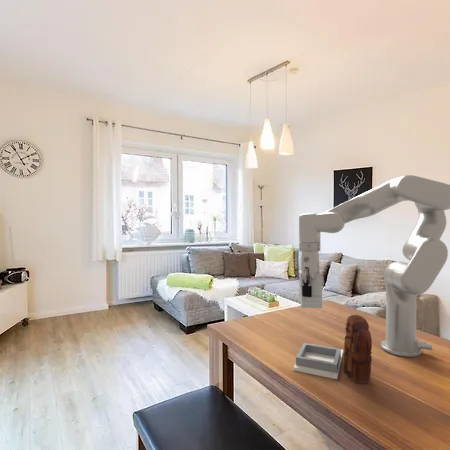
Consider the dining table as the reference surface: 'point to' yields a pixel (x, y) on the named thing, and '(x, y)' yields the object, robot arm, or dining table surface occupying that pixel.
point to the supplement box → (316, 292)
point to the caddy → (319, 360)
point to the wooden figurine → (357, 349)
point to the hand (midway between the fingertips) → (310, 293)
